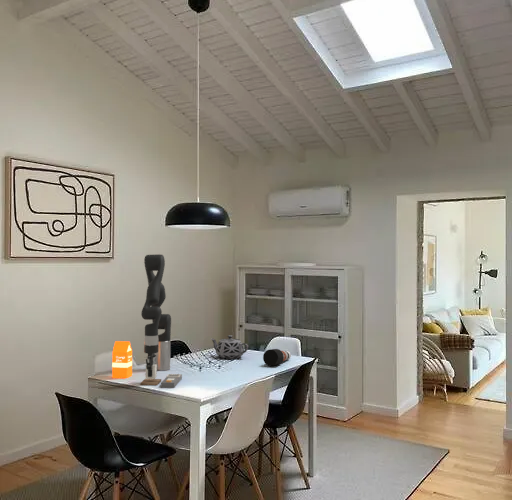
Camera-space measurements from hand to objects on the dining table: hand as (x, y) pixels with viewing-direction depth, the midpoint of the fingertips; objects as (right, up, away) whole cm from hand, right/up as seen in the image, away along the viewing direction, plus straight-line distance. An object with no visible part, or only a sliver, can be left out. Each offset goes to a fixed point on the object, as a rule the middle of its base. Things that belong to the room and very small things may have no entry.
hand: (151, 375), depth 296 cm
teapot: (+38, -6, +80) cm, 89 cm away
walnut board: (0, -4, 0) cm, 4 cm away
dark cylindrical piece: (+72, -6, +62) cm, 95 cm away
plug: (0, -1, 0) cm, 1 cm away
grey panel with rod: (+11, -4, +4) cm, 13 cm away
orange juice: (-19, -4, +16) cm, 25 cm away
